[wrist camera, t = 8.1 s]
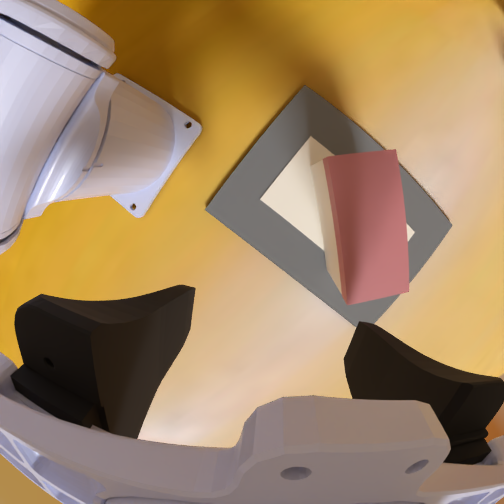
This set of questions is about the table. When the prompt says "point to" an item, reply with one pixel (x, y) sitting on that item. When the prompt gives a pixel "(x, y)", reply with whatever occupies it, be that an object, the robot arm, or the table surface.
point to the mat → (312, 200)
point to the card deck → (363, 224)
